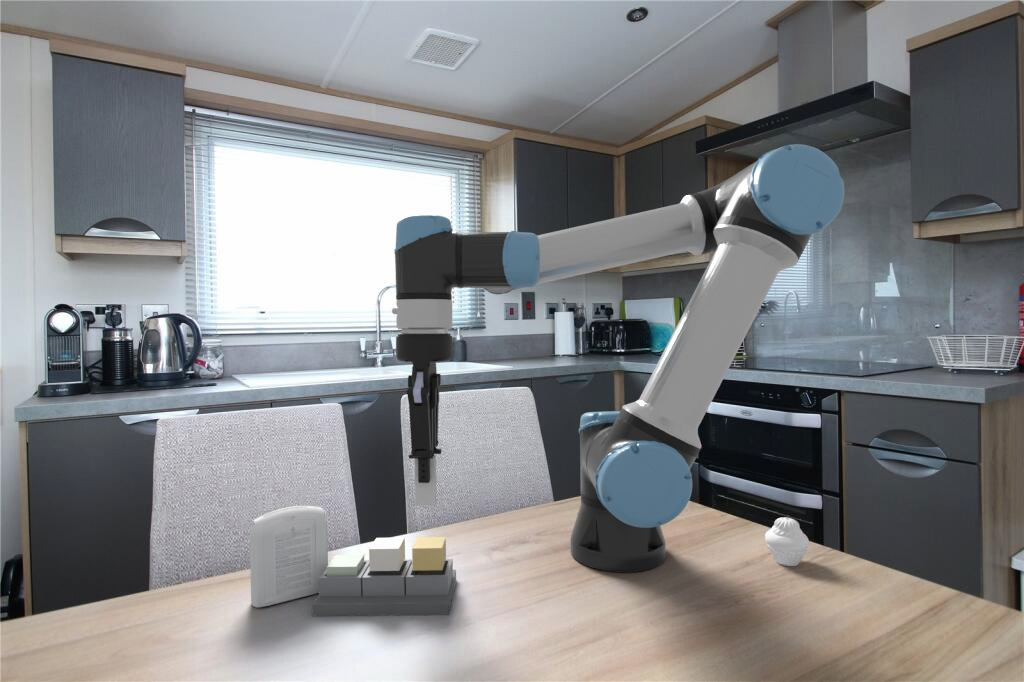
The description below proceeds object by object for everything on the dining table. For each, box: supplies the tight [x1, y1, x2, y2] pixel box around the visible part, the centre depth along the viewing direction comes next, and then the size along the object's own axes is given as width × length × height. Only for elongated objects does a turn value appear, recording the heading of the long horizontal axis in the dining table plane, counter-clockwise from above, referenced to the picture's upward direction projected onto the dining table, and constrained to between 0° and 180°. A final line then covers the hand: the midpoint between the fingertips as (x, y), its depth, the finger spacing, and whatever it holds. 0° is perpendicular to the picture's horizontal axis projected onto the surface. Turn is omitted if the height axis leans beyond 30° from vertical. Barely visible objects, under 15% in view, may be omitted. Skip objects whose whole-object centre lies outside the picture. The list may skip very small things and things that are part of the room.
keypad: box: [311, 558, 457, 617], centre depth 79 cm, size 18×10×4 cm, turn 89°
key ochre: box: [411, 536, 447, 571], centre depth 79 cm, size 4×4×3 cm
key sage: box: [327, 554, 365, 576], centre depth 79 cm, size 4×4×3 cm
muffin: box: [764, 516, 810, 567], centre depth 88 cm, size 6×6×7 cm
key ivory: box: [368, 536, 406, 571], centre depth 79 cm, size 4×4×3 cm
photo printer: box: [249, 505, 329, 608], centre depth 80 cm, size 10×4×12 cm, turn 123°
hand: (425, 503), depth 79 cm, fingers closed
